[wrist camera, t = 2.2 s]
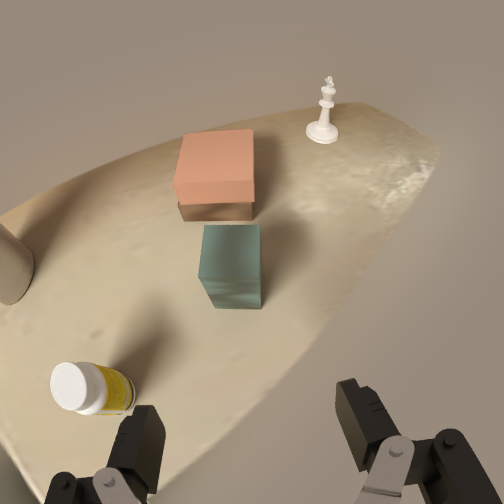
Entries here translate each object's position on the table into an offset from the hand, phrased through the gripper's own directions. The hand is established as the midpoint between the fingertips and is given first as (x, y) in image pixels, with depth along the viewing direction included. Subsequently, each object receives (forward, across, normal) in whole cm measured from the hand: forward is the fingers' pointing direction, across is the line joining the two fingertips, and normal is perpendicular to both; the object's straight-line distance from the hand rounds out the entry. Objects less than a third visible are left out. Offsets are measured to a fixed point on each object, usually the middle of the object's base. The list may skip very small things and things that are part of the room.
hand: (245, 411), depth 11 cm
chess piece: (+34, -15, -13) cm, 39 cm away
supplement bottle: (+12, +14, +9) cm, 20 cm away
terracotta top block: (+25, 0, -9) cm, 27 cm away
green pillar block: (+18, 0, +2) cm, 19 cm away
